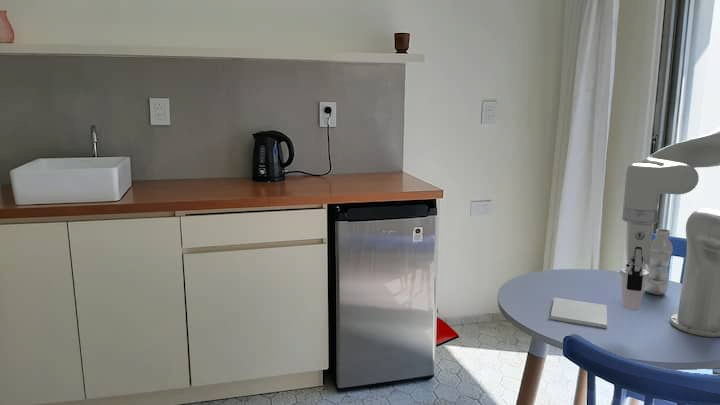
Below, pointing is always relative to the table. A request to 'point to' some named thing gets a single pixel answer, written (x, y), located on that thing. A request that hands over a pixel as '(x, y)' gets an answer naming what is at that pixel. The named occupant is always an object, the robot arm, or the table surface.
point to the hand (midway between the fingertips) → (633, 284)
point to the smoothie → (631, 297)
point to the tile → (579, 312)
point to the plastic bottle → (659, 263)
